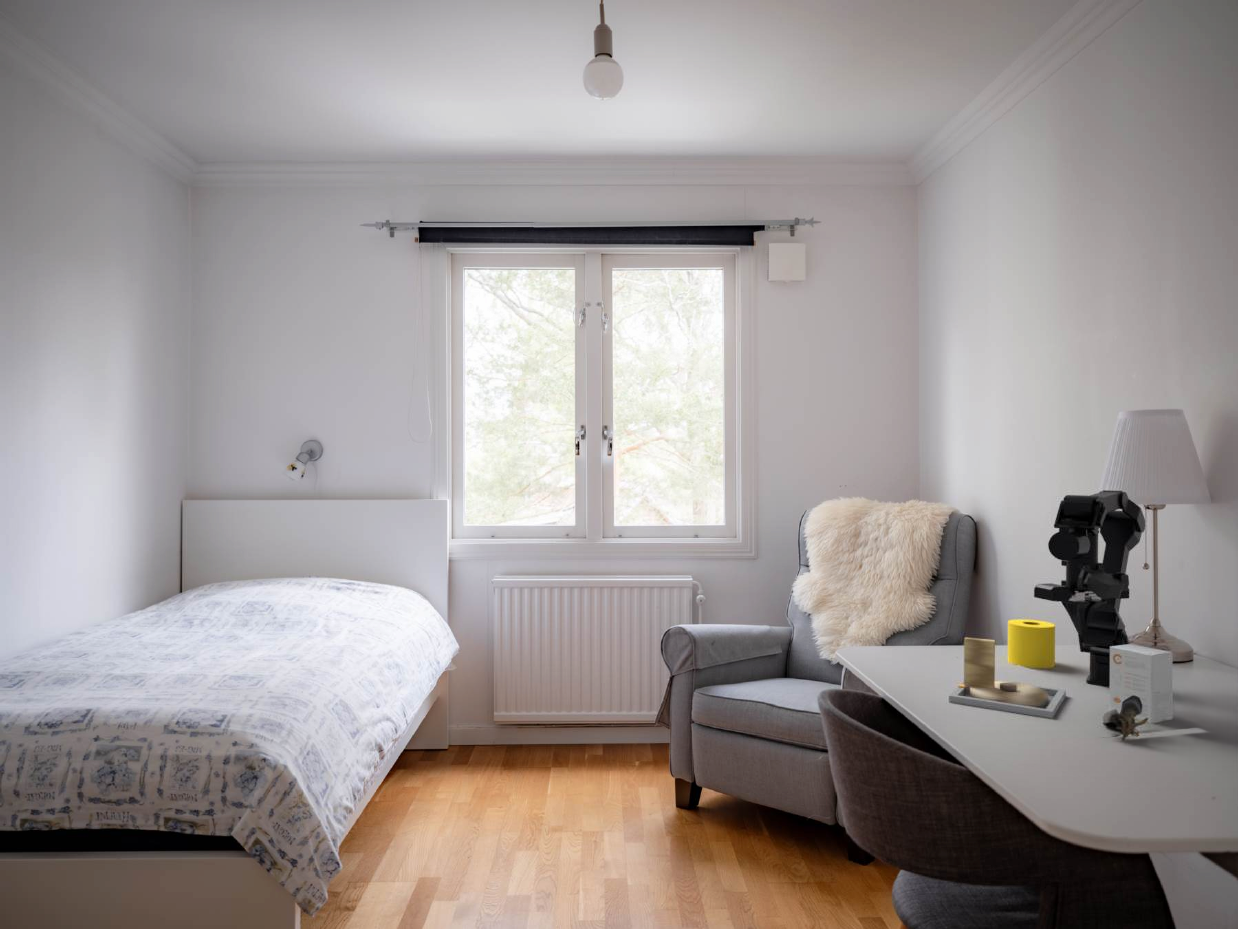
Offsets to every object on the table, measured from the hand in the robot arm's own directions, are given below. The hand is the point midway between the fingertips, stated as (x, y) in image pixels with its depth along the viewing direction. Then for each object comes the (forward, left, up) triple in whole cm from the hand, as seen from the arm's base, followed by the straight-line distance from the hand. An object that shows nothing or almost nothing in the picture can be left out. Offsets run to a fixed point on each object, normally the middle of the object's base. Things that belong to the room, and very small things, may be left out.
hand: (1081, 633), depth 172 cm
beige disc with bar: (+15, -11, -12) cm, 22 cm away
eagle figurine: (+24, +9, -13) cm, 28 cm away
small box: (+12, +11, -13) cm, 21 cm away
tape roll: (-24, -13, -13) cm, 30 cm away
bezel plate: (+15, -11, -12) cm, 22 cm away
